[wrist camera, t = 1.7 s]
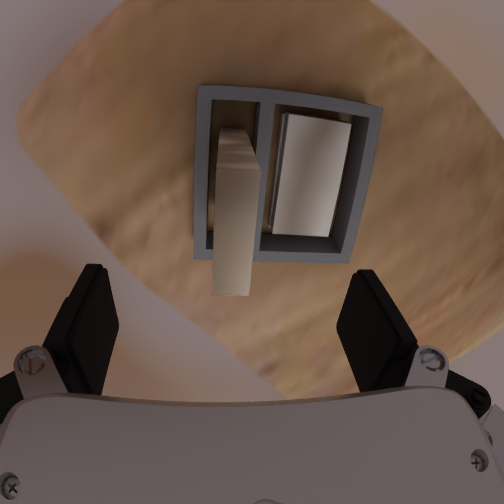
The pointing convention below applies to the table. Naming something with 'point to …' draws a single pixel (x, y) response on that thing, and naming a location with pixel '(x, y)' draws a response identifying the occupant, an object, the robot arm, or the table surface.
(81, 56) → the table surface
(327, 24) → the table surface
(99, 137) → the table surface
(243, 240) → the birch sheet
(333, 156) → the offcut upper
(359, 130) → the rack
